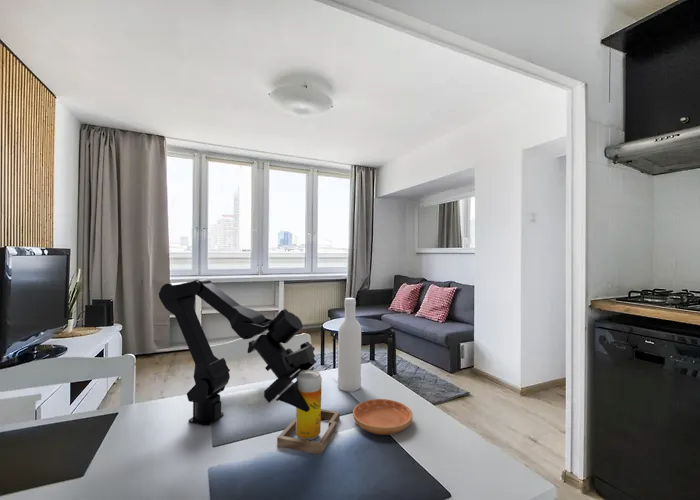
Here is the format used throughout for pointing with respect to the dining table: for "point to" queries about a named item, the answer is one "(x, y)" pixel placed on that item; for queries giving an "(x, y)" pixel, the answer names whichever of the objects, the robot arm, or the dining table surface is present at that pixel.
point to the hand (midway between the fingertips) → (313, 404)
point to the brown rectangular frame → (310, 446)
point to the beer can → (311, 392)
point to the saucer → (382, 416)
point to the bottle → (349, 349)
